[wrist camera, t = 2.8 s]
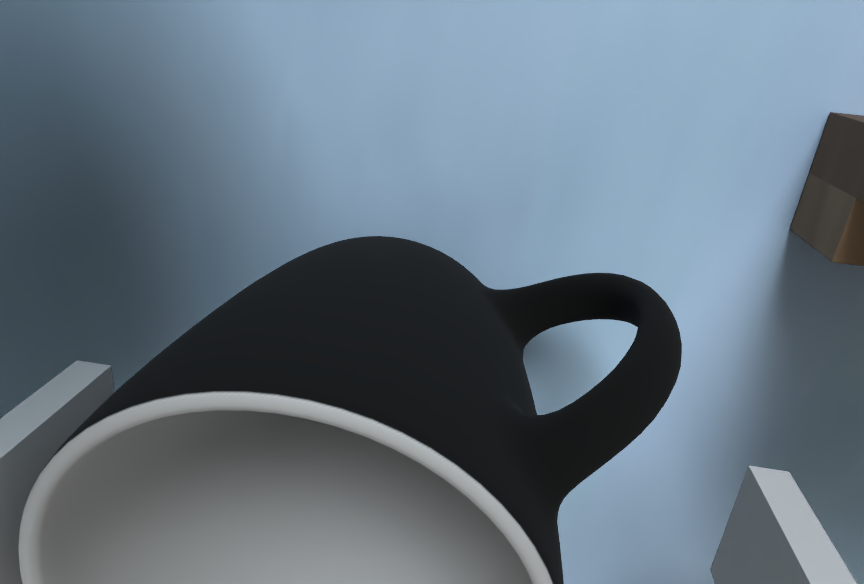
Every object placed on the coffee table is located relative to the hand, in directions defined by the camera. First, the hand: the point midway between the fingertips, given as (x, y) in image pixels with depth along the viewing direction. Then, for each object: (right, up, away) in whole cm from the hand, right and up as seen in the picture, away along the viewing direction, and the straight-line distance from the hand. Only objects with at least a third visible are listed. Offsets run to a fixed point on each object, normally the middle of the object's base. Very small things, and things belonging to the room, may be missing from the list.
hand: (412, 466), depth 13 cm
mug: (0, +3, +6) cm, 7 cm away
